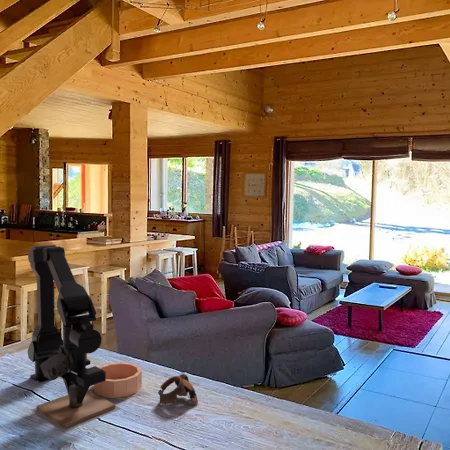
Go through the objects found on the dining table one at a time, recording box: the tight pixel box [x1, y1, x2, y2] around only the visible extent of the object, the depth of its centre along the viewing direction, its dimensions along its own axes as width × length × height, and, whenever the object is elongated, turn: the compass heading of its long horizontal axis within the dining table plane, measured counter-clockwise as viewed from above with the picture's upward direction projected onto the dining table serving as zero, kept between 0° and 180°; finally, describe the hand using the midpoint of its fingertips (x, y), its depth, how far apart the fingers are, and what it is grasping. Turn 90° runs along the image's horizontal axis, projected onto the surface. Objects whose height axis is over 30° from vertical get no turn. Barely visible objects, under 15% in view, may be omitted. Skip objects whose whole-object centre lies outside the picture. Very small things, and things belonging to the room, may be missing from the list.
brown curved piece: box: [158, 373, 199, 407], centre depth 129 cm, size 12×10×8 cm
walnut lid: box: [36, 384, 116, 429], centre depth 123 cm, size 14×14×6 cm
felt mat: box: [31, 404, 122, 433], centre depth 124 cm, size 16×16×1 cm
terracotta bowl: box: [93, 362, 143, 399], centre depth 137 cm, size 13×13×5 cm
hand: (75, 401), depth 123 cm, fingers closed on walnut lid, 3 cm apart
